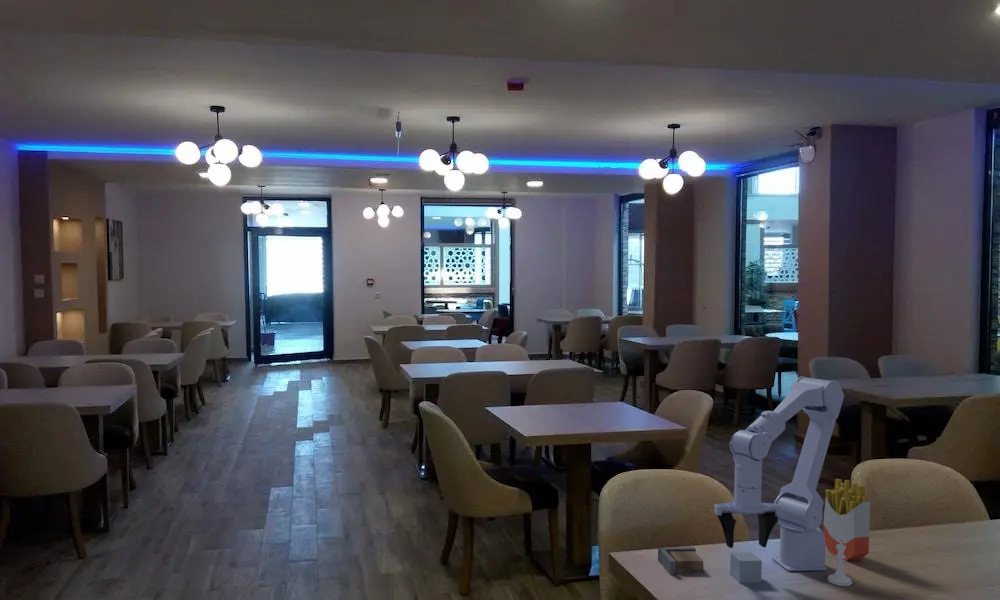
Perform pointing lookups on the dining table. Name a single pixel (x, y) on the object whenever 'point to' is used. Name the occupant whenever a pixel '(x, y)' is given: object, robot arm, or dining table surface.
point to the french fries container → (847, 519)
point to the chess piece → (840, 567)
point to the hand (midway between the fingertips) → (746, 546)
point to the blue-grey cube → (745, 567)
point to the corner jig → (666, 558)
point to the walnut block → (687, 561)
